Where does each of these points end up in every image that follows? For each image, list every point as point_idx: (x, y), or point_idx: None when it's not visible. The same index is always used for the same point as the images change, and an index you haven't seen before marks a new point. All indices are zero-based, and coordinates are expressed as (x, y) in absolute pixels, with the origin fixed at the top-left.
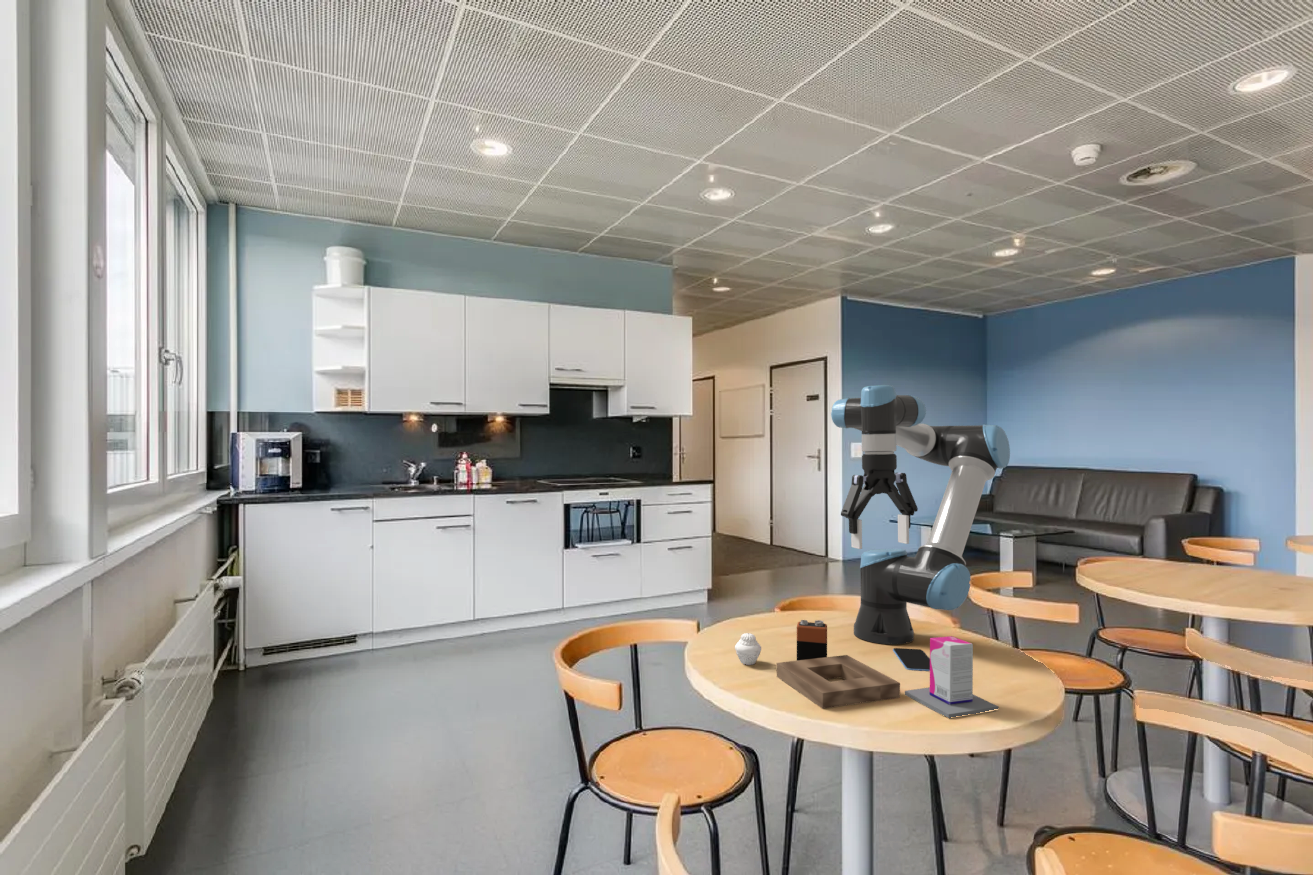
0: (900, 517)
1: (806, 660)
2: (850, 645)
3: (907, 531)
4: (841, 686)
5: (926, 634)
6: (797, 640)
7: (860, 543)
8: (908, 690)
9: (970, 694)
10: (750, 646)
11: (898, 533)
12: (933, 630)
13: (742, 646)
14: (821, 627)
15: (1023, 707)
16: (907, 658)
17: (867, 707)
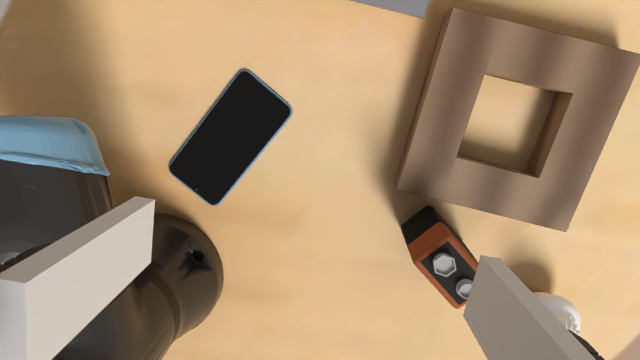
0: (44, 335)
1: (501, 209)
2: (273, 268)
3: (103, 224)
4: (577, 60)
5: None
6: None
7: (504, 272)
8: (416, 13)
9: None
10: (567, 310)
11: (123, 284)
12: None
13: (578, 320)
14: (454, 245)
15: None
16: (243, 148)
17: (543, 14)
